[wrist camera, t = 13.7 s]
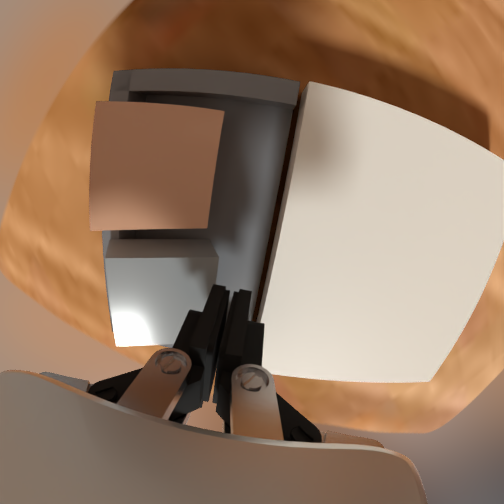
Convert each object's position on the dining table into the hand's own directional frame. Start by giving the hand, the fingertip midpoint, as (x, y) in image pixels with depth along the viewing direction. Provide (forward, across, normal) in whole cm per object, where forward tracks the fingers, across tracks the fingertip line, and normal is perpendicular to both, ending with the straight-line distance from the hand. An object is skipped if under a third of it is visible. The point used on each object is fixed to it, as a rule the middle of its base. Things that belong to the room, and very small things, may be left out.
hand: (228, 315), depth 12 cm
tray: (+4, +3, -3) cm, 6 cm away
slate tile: (0, +3, 0) cm, 3 cm away
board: (+4, -8, -3) cm, 9 cm away
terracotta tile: (0, +4, -6) cm, 7 cm away
